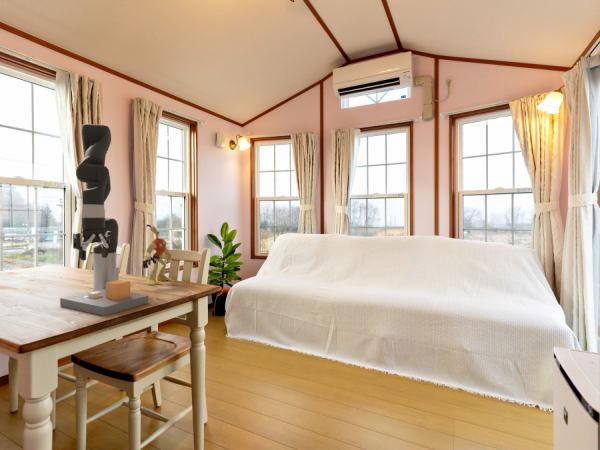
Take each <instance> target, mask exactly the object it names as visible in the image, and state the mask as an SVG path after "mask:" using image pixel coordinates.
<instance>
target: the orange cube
mask: <svg viewBox="0 0 600 450" xmlns="http://www.w3.org/2000/svg"><path fill="white" fill-rule="evenodd" d="M131 293H132V291H131V280H125V279H124V280H123V279H119V280H117V281H112V282H107V283H106V298H108V299H113V300H118V299H122V298H126V297H130V296H131Z"/></svg>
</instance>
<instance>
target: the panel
mask: <svg viewBox="0 0 600 450" xmlns="http://www.w3.org/2000/svg"><path fill="white" fill-rule="evenodd" d="M97 291H98V292H102V297H100V298H95V299H91V298H88V293H91V292H95V291H94V290H93V291H88V292H83V293H79V294H75V295H71V296H64V297H61V298H59V306H60V307H63V308H67V309H73V310H76V311H81V312H85V313H89V314H94V315H98V316H103V317H105V316H108V315H112V314H115V313H119V312H121V311H125V310H129V309H133V308H136V307H139V306H143V305H146V304H149V295H147V294H141V293H135V292H131V296H130V297H126V298H122V299H118V300H113V299H108V298H106V289H102V290H97Z"/></svg>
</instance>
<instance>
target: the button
mask: <svg viewBox="0 0 600 450" xmlns="http://www.w3.org/2000/svg"><path fill="white" fill-rule="evenodd" d="M90 292H91V293H88V298H91V299H95V298H100V297H102V292H98V291H95V292H92V291H90Z"/></svg>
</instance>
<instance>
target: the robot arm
mask: <svg viewBox="0 0 600 450" xmlns="http://www.w3.org/2000/svg"><path fill="white" fill-rule="evenodd" d="M80 131H81V140H82V147H83V153H84V158H83V160H82V161H81V162H80V163H79V164H78V166H77V167H76V169H75V170H76V171H75V175H76V179H78V181H80V182H82V183H86V189H84V190H82V194H81V195H82V205H81V206H82V208H81V229H82V232H73V233H72V249H74V250H78V251H79V256H78V257H79V260H81V261H86V260H87V250H86V249H87V247H88V246H89V245H91V244H96V243H97V244H98V245H96V246H94V247H93V253H92V254H93V255H92V256H93V263H92V264H93V291H97V290H102V289H106V283H107V282H112V281H117V280H120V275H119V273H120V272H119V271H120V270H119V267H118V266H117V265H118V264H117V248H118V245H119V223H118V221H117V220H116V219H115V218H111V217H109V218H108V217H106V210H105V202H106V200H107V199H108V197H109V195H110V193H111V189H112V187H111V175H110V171H109V169H108V167H107V166H105V164H106V155H107V153H108V151H109V149H110V146H111V143H112V133H111V128H110V127H109V126H108V125H104V124H93V123H83V124H82V125H81V130H80ZM82 238H83V239H82ZM81 239H82V241H81Z"/></svg>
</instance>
